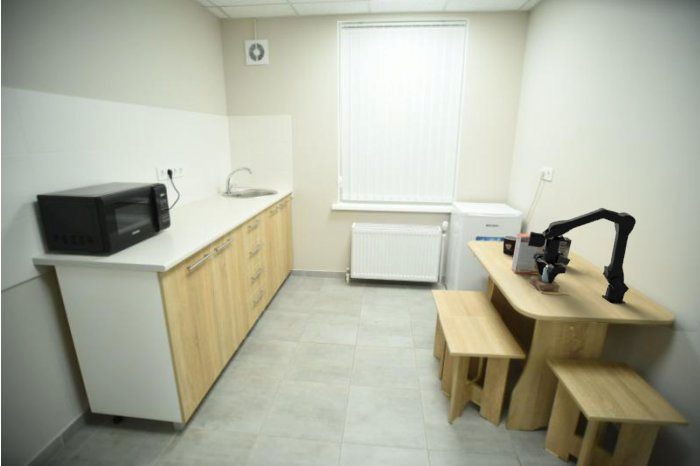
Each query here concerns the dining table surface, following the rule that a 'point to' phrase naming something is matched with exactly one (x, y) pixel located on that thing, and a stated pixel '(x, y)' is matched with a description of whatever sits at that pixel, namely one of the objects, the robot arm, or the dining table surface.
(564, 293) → the lace
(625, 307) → the dining table surface
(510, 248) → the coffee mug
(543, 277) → the light blue cylinder
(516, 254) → the cracker box
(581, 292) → the dining table surface
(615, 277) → the robot arm
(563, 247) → the coffee box
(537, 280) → the brown square frame
